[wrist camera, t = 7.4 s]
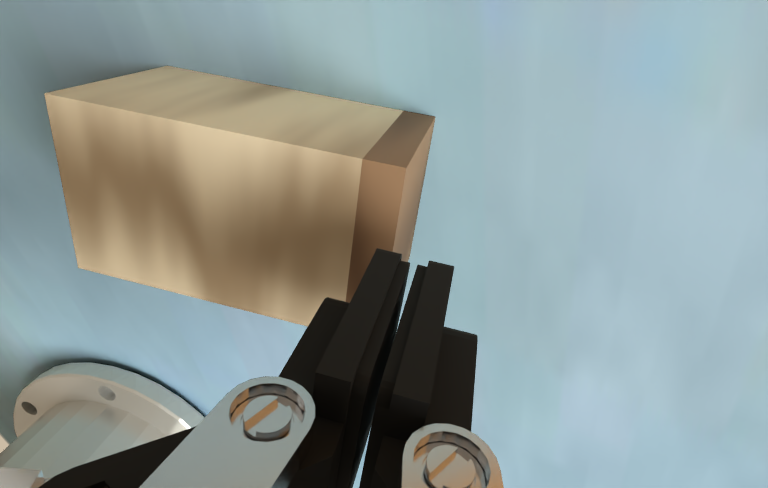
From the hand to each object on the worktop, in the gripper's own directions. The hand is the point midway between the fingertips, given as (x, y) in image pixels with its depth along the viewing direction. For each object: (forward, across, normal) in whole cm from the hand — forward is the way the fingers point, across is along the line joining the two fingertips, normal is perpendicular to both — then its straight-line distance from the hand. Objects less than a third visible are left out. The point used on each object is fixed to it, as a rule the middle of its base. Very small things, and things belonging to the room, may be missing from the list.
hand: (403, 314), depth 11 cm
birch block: (+4, +1, 0) cm, 4 cm away
